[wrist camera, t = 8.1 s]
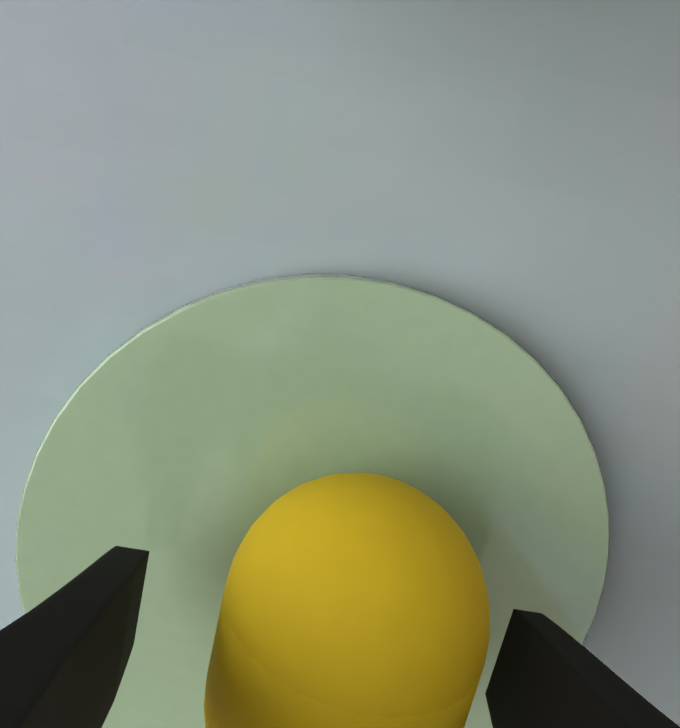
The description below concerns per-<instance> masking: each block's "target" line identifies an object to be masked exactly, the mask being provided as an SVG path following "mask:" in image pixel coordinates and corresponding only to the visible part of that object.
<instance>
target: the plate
mask: <svg viewBox="0 0 680 728" xmlns="http://www.w3.org/2000/svg"><path fill="white" fill-rule="evenodd" d="M339 473H372V474H378V475H383V476H387V477H390V478H393V479H397V480H399V481H402V482H404V483H406V484H408V485H410V486H412V487H414V488H416V489H417V490H419V491H421V492H422V493H424V494H425V495H426V496H428V497H429V498H431V499H432V500H434V501H435V502H436V503H438V504H439V505H440V506H441V507H442V508H443V509H444V510H445V511H446V512H447V513H448V514H449V515H450V516H451V518H452V519H453V520H454V521H455V522H456V524H457V525H458V526H459V527H460V528H461V530H462V531H463V532H464V534H465V535H466V537H467V539H468V541H469V542H470V544H471V546H472V548H473V550H474V552H475V554H476V556H477V558H478V560H479V562H480V566H481V569H482V573H483V576H484V580H485V584H486V588H487V592H488V596H489V607H490V636H489V645H488V650H487V655H486V659H485V664H484V668H483V672H482V675H481V678H480V681H479V684H478V687H477V690H476V693H475V696H474V699H473V702H472V705H471V708H470V711H469V714H468V717H467V720H466V723H465V726H464V728H493V726H492V722H491V718H490V713H489V709H488V704H487V700H486V695H485V693H486V690H487V687H488V684H489V681H490V678H491V675H492V672H493V669H494V666H495V663H496V660H497V657H498V654H499V651H500V648H501V645H502V642H503V639H504V636H505V633H506V630H507V627H508V624H509V621H510V618H511V615H512V612H513V609H518V610H524V611H530V612H537V613H542V614H544V615H545V616H546V617H548V618H549V619H551V620H552V621H553V622H554V623H556V624H557V625H558V626H560V627H561V628H562V629H563V630H565V631H566V632H567V633H568V634H569V635H571V636H572V637H573V638H574V639H575V640H577V641H578V642H579V643H580V644H581V645H582V644H583V642H584V639H585V637H586V635H587V633H588V630H589V628H590V626H591V624H592V621H593V619H594V617H595V613H596V610H597V607H598V603H599V600H600V596H601V593H602V590H603V586H604V580H605V574H606V567H607V561H608V554H609V515H608V507H607V500H606V492H605V485H604V481H603V478H602V474H601V471H600V467H599V464H598V460H597V457H596V453H595V450H594V448H593V446H592V444H591V441H590V439H589V437H588V435H587V433H586V430H585V428H584V426H583V424H582V422H581V419H580V418H579V416H578V414H577V413H576V411H575V410H574V408H573V407H572V405H571V404H570V402H569V400H568V399H567V397H566V396H565V394H564V393H563V391H562V390H561V388H560V387H559V386H558V385H557V383H556V382H555V381H554V380H553V379H552V378H551V377H550V376H549V374H548V373H547V372H546V371H545V370H544V369H543V368H542V366H541V365H540V364H539V363H538V362H537V361H536V360H535V359H534V358H533V357H532V356H531V355H530V354H528V353H527V352H526V351H525V350H524V349H523V348H521V347H520V346H519V345H518V344H517V343H516V342H514V341H513V340H512V339H511V338H510V337H508V336H507V335H506V334H505V333H503V332H501V331H500V330H498V329H497V328H495V327H494V326H492V325H490V324H489V323H487V322H486V321H484V320H482V319H481V318H479V317H478V316H476V315H475V314H473V313H471V312H469V311H467V310H465V309H463V308H460V307H458V306H456V305H454V304H452V303H449V302H447V301H445V300H443V299H441V298H438V297H436V296H434V295H432V294H430V293H427V292H424V291H421V290H417V289H414V288H410V287H407V286H404V285H400V284H397V283H394V282H390V281H385V280H378V279H372V278H366V277H359V276H353V275H331V274H303V275H294V276H285V277H276V278H267V279H262V280H258V281H254V282H250V283H246V284H242V285H238V286H234V287H230V288H226V289H223V290H221V291H218V292H216V293H213V294H211V295H208V296H206V297H203V298H200V299H198V300H195V301H193V302H190V303H188V304H186V305H184V306H182V307H180V308H179V309H177V310H175V311H173V312H171V313H170V314H168V315H166V316H164V317H163V318H161V319H159V320H157V321H155V322H154V323H152V324H150V325H149V326H147V327H145V328H144V329H142V330H141V331H140V332H138V333H137V334H136V335H134V336H133V337H132V338H130V339H129V340H128V341H126V342H125V343H124V344H122V345H121V346H120V347H118V348H117V349H116V350H114V351H113V352H112V353H110V354H109V355H108V356H107V357H106V358H105V359H104V360H103V361H102V362H101V363H100V364H99V365H98V366H97V367H96V368H95V369H94V370H93V371H92V372H91V373H90V374H89V375H88V376H87V377H86V378H85V379H84V380H83V381H82V382H81V383H80V384H79V385H78V387H77V388H76V390H75V391H74V392H73V394H72V395H71V396H70V398H69V399H68V400H67V402H66V403H65V404H64V406H63V407H62V408H61V410H60V411H59V412H58V414H57V415H56V417H55V418H54V420H53V422H52V424H51V426H50V428H49V430H48V431H47V433H46V435H45V437H44V439H43V441H42V443H41V445H40V446H39V448H38V450H37V452H36V455H35V458H34V461H33V464H32V466H31V469H30V472H29V475H28V478H27V481H26V483H25V486H24V490H23V496H22V501H21V506H20V512H19V517H18V522H17V540H16V568H17V576H18V585H19V593H20V599H21V603H22V606H23V610H24V613H25V614H26V613H27V612H29V611H30V610H32V609H33V608H34V607H36V606H37V605H38V604H40V603H41V602H43V601H44V600H45V599H47V598H48V597H49V596H51V595H52V594H53V593H55V592H56V591H58V590H59V589H60V588H62V587H63V586H64V585H66V584H67V583H68V582H70V581H71V580H72V579H73V578H75V577H76V576H77V575H79V574H80V573H81V572H82V571H84V570H85V569H86V568H87V567H89V566H90V565H91V564H92V563H94V562H95V561H96V560H97V559H99V558H100V557H101V556H102V555H104V554H105V553H106V552H107V551H109V550H110V549H112V548H113V547H115V546H121V547H128V548H134V549H140V550H146V551H149V557H148V563H147V569H146V575H145V581H144V587H143V593H142V598H141V604H140V610H139V616H138V622H137V628H136V634H135V640H134V645H133V648H132V651H131V654H130V657H129V660H128V663H127V666H126V669H125V672H124V675H123V677H122V680H121V683H120V686H119V689H118V692H117V694H116V697H115V700H114V702H113V704H112V707H111V709H110V711H109V713H108V715H107V717H106V720H105V722H104V724H103V726H102V728H205V719H204V698H205V687H206V678H207V671H208V667H209V662H210V657H211V652H212V647H213V642H214V637H215V632H216V627H217V622H218V618H219V613H220V608H221V603H222V598H223V593H224V588H225V584H226V580H227V577H228V574H229V571H230V568H231V564H232V561H233V558H234V556H235V554H236V552H237V550H238V548H239V546H240V545H241V543H242V541H243V539H244V538H245V536H246V534H247V533H248V531H249V529H250V528H251V526H252V525H253V524H254V522H255V521H256V520H257V519H258V518H259V517H260V516H261V515H262V514H263V513H264V512H265V511H266V510H267V509H268V508H269V507H270V506H271V505H272V504H273V503H274V502H275V501H276V500H277V499H279V498H280V497H282V496H283V495H285V494H286V493H288V492H289V491H291V490H292V489H294V488H296V487H298V486H300V485H301V484H304V483H306V482H309V481H312V480H315V479H318V478H321V477H324V476H327V475H332V474H339Z"/></svg>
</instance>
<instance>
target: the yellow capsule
mask: <svg viewBox="0 0 680 728" xmlns="http://www.w3.org/2000/svg"><path fill="white" fill-rule="evenodd" d="M489 636H490V607H489V596H488V592H487V588H486V584H485V580H484V576H483V573H482V569H481V566H480V562H479V560H478V558H477V556H476V554H475V552H474V550H473V548H472V546H471V544H470V542H469V541H468V539H467V537H466V535H465V534H464V532H463V531H462V530H461V528H460V527H459V526H458V525H457V524H456V522H455V521H454V520H453V519H452V518H451V516H450V515H449V514H448V513H447V512H446V511H445V510H444V509H443V508H442V507H441V506H440V505H439V504H438V503H436V502H435V501H434V500H432V499H431V498H429V497H428V496H426V495H425V494H424V493H422V492H421V491H419V490H417V489H416V488H414V487H412V486H410V485H408V484H406V483H404V482H402V481H399V480H397V479H393V478H390V477H387V476H383V475H378V474H372V473H339V474H332V475H327V476H324V477H321V478H318V479H315V480H312V481H309V482H306V483H304V484H301V485H300V486H298V487H296V488H294V489H292V490H291V491H289V492H288V493H286V494H285V495H283V496H282V497H280V498H279V499H277V500H276V501H275V502H274V503H273V504H272V505H271V506H270V507H269V508H268V509H267V510H266V511H265V512H264V513H263V514H262V515H261V516H260V517H259V518H258V519H257V520H256V521H255V522H254V524H253V525H252V526H251V528H250V529H249V531H248V533H247V534H246V536H245V538H244V539H243V541H242V543H241V545H240V546H239V548H238V550H237V552H236V554H235V556H234V558H233V561H232V564H231V568H230V571H229V574H228V577H227V580H226V584H225V588H224V593H223V598H222V603H221V608H220V613H219V618H218V622H217V627H216V632H215V637H214V642H213V647H212V652H211V657H210V662H209V667H208V671H207V678H206V687H205V698H204V719H205V728H464V726H465V723H466V720H467V717H468V714H469V711H470V708H471V705H472V702H473V699H474V696H475V693H476V690H477V687H478V684H479V681H480V678H481V675H482V672H483V668H484V664H485V659H486V655H487V650H488V645H489Z"/></svg>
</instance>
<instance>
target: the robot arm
mask: <svg viewBox="0 0 680 728" xmlns="http://www.w3.org/2000/svg"><path fill="white" fill-rule="evenodd" d="M148 557H149V551H146V550H140V549H134V548H128V547H121V546H115V547H113V548H112V549H110V550H109V551H107V552H106V553H105V554H104V555H102V556H101V557H100V558H99V559H97V560H96V561H95V562H94V563H92V564H91V565H90V566H89V567H87V568H86V569H85V570H84V571H82V572H81V573H80V574H79V575H77V576H76V577H75V578H73V579H72V580H71V581H70V582H68V583H67V584H66V585H64V586H63V587H62V588H60V589H59V590H58V591H56V592H55V593H53V594H52V595H51V596H49V597H48V598H47V599H45V600H44V601H43V602H41V603H40V604H38V605H37V606H36V607H34V608H33V609H32V610H30V611H29V612H27V613H26V614H24V615H23V616H22V617H20V618H19V619H17V620H15V621H14V622H12V623H11V624H9V625H8V626H6V627H5V628H3V629H2V630H0V728H102V726H103V724H104V722H105V720H106V717H107V715H108V713H109V711H110V709H111V707H112V704H113V702H114V700H115V697H116V694H117V692H118V689H119V686H120V683H121V680H122V677H123V675H124V672H125V669H126V666H127V663H128V660H129V657H130V654H131V651H132V648H133V645H134V640H135V634H136V628H137V622H138V616H139V610H140V604H141V598H142V593H143V587H144V581H145V575H146V569H147V563H148ZM485 695H486V700H487V704H488V709H489V713H490V718H491V722H492V726H493V728H680V727H679V726H678V725H677V724H675V723H674V722H673V721H672V720H670V719H669V718H668V717H666V716H665V715H664V714H663V713H662V712H660V711H659V710H658V709H657V708H655V707H654V706H653V705H652V704H651V703H649V702H648V701H647V700H646V699H644V698H643V697H642V696H641V695H640V694H639V693H637V692H636V691H635V690H634V689H633V688H631V687H630V686H629V685H628V684H627V683H626V682H624V681H623V680H622V679H621V678H620V677H618V676H617V675H616V674H615V673H614V672H613V671H611V670H610V669H609V668H608V667H607V666H606V665H604V664H603V663H602V662H601V661H600V660H599V659H598V658H596V657H595V656H594V655H593V654H592V653H591V652H589V651H588V650H587V649H586V648H585V647H584V646H582V645H581V644H580V643H579V642H578V641H577V640H575V639H574V638H573V637H572V636H571V635H569V634H568V633H567V632H566V631H565V630H563V629H562V628H561V627H560V626H558V625H557V624H556V623H554V622H553V621H552V620H551V619H549V618H548V617H546V616H545V615H544V614H542V613H537V612H530V611H524V610H518V609H513V612H512V615H511V618H510V621H509V624H508V627H507V630H506V633H505V636H504V639H503V642H502V645H501V648H500V651H499V654H498V657H497V660H496V663H495V666H494V669H493V672H492V675H491V678H490V681H489V684H488V687H487V690H486V693H485Z"/></svg>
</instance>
